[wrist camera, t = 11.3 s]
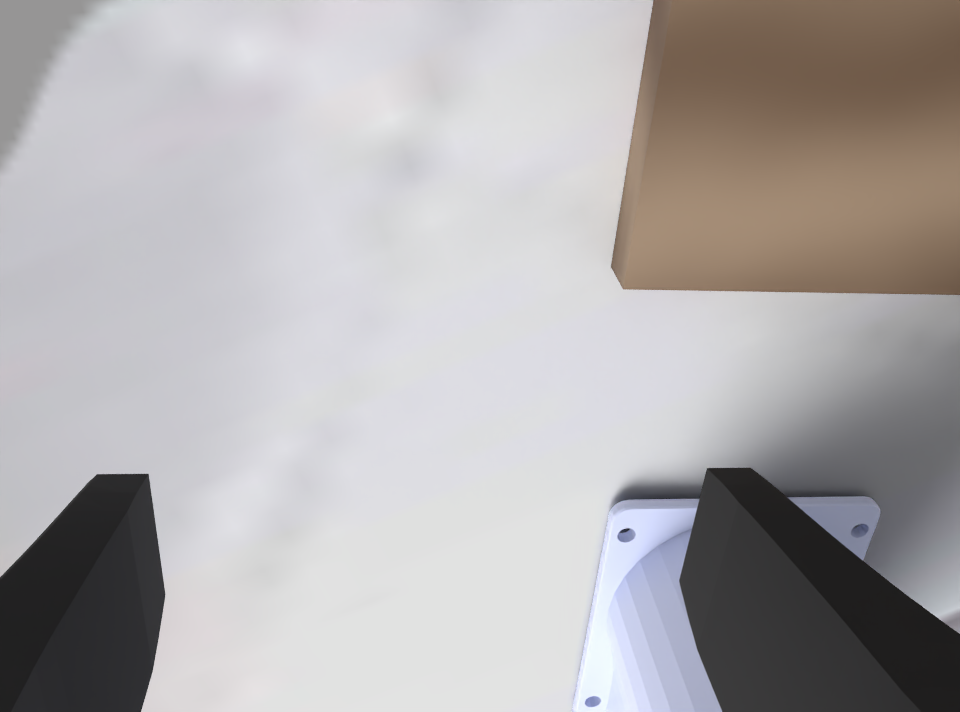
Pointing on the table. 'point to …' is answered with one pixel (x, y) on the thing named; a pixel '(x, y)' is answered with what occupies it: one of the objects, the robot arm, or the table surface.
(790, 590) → the robot arm
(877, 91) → the test bench
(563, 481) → the table surface
